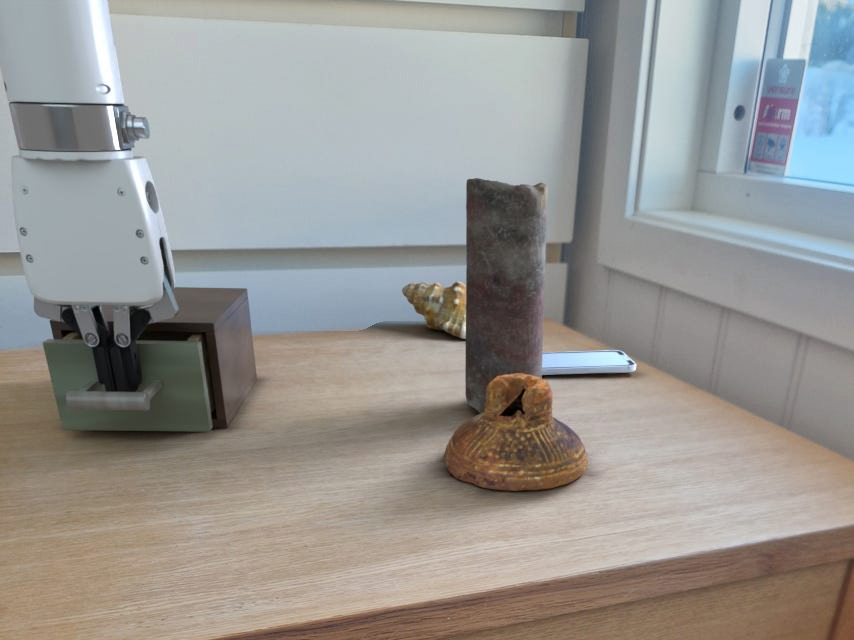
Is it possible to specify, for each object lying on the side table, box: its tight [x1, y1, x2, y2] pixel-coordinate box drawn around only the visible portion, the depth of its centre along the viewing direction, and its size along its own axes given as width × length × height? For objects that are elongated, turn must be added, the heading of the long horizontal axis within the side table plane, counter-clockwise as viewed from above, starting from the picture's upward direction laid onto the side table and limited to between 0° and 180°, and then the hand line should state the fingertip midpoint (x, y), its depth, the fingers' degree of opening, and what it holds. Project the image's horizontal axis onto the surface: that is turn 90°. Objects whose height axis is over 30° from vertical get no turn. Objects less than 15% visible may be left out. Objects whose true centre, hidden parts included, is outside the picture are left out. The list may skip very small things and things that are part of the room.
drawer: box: [42, 331, 216, 433], centre depth 77 cm, size 20×12×7 cm, turn 2°
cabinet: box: [49, 286, 258, 429], centre depth 83 cm, size 16×14×9 cm
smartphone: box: [542, 349, 637, 376], centre depth 99 cm, size 7×1×15 cm
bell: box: [443, 373, 589, 492], centre depth 71 cm, size 12×12×7 cm
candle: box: [464, 177, 549, 414], centre depth 81 cm, size 8×7×20 cm
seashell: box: [401, 281, 466, 340], centre depth 112 cm, size 9×8×10 cm
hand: (123, 392), depth 72 cm, fingers closed
